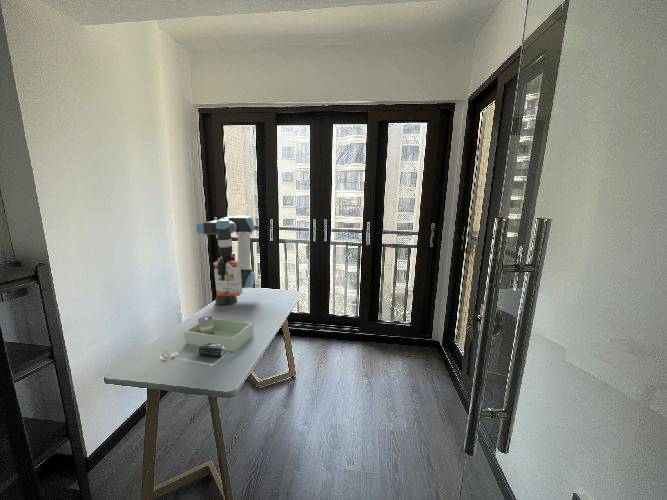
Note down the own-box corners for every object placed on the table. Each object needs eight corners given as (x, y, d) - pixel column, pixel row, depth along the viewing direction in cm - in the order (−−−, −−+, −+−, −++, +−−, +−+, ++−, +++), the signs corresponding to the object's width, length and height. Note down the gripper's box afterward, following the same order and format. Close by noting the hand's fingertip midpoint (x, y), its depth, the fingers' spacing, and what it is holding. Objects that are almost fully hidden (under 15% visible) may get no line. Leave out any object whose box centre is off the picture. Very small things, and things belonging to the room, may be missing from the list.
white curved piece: (180, 356, 136) (179, 349, 135) (162, 363, 131) (161, 355, 130) (176, 349, 142) (175, 342, 142) (158, 355, 137) (157, 348, 136)
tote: (209, 329, 163) (207, 317, 161) (253, 335, 155) (252, 323, 153) (185, 344, 146) (184, 331, 145) (234, 352, 138) (232, 338, 137)
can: (206, 333, 157) (204, 315, 155) (217, 334, 155) (215, 316, 153) (197, 339, 150) (195, 320, 148) (208, 341, 148) (206, 322, 146)
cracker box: (216, 296, 165) (212, 262, 161) (220, 292, 171) (217, 260, 167) (239, 296, 165) (236, 262, 161) (242, 292, 171) (240, 260, 166)
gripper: (230, 242, 172) (233, 278, 177) (208, 249, 154) (212, 288, 158) (240, 243, 170) (243, 279, 175) (219, 249, 152) (223, 289, 156)
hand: (228, 283), depth 167 cm, fingers closed on cracker box, 7 cm apart
